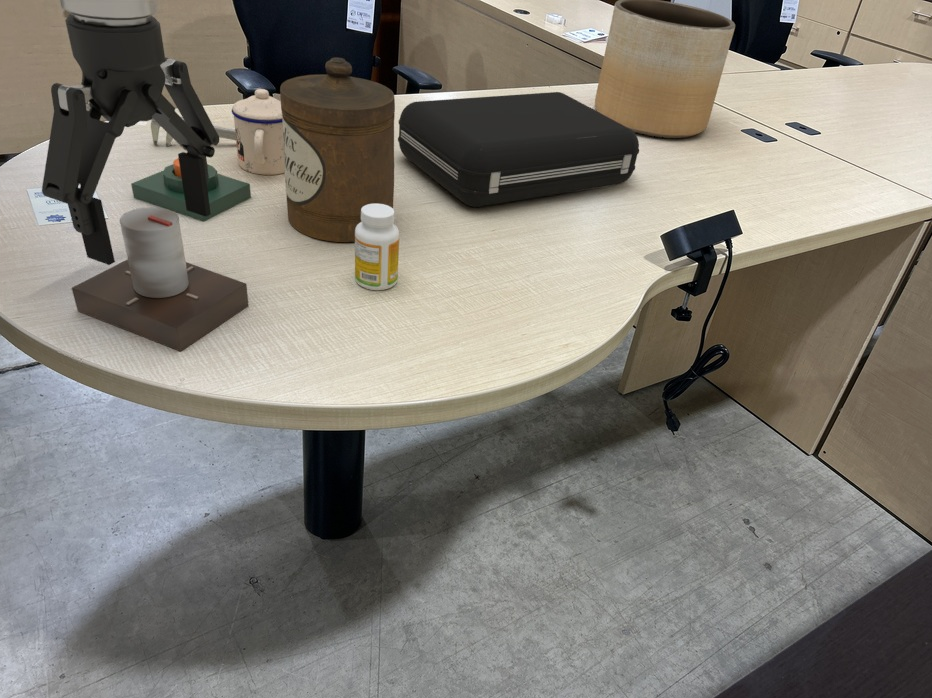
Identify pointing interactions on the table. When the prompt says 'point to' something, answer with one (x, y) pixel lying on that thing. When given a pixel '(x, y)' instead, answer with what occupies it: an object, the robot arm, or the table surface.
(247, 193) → the button block
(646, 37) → the planter
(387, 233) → the supplement bottle
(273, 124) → the teacup with lid
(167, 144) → the caliper
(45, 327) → the table surface
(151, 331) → the brown rectangular base
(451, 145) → the briefcase
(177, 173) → the button
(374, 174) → the wooden container
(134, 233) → the dial
